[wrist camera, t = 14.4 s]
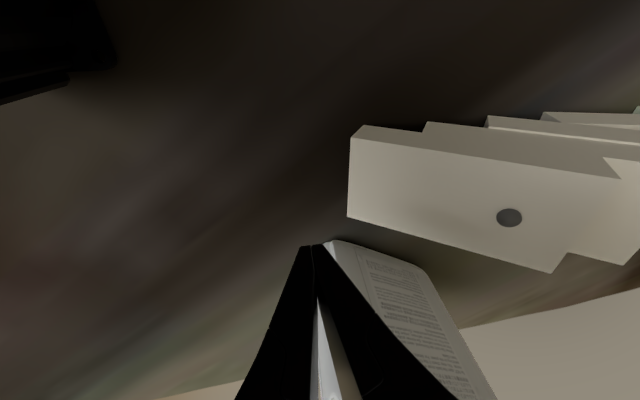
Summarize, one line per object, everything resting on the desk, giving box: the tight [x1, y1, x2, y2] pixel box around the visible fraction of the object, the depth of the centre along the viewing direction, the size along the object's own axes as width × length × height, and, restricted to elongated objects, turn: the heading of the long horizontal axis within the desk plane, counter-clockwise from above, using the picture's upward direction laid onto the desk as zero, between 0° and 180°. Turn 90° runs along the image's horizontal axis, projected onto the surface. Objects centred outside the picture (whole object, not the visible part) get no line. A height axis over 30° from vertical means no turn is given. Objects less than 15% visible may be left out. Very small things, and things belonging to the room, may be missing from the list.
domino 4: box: [540, 112, 640, 130], centre depth 15 cm, size 5×2×10 cm
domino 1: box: [347, 125, 622, 274], centre depth 13 cm, size 5×2×10 cm
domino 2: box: [483, 115, 640, 146], centre depth 14 cm, size 5×2×10 cm
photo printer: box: [317, 240, 497, 400], centre depth 16 cm, size 10×4×12 cm, turn 61°
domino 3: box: [422, 121, 640, 266], centre depth 13 cm, size 5×2×10 cm
